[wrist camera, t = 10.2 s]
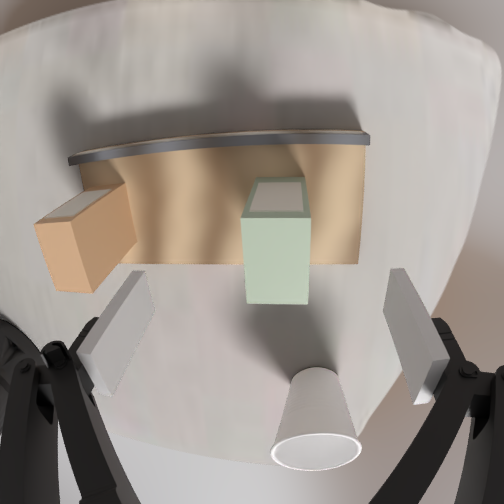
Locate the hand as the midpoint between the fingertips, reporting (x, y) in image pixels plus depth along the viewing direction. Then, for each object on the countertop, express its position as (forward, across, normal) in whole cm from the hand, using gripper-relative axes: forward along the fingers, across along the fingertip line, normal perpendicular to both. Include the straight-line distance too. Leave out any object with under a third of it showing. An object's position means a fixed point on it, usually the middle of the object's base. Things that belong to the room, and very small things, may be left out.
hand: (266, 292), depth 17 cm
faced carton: (+12, -15, 0) cm, 20 cm away
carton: (+12, +1, 0) cm, 12 cm away
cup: (+14, +5, -23) cm, 27 cm away
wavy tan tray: (+14, -5, +1) cm, 15 cm away
